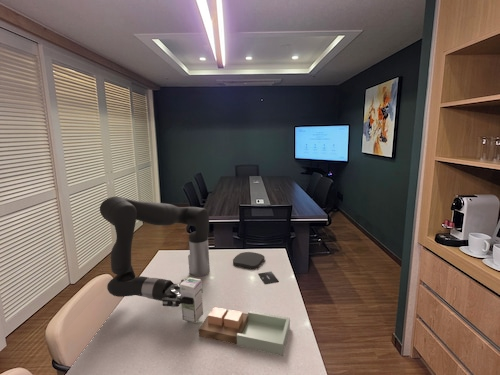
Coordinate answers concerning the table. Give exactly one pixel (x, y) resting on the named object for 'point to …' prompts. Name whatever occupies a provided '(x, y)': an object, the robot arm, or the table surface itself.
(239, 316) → the tile
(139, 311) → the table surface
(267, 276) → the solid state drive
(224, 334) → the board
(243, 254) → the media streaming box
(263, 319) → the tray
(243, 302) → the table surface
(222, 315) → the tile
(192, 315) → the syrup box
